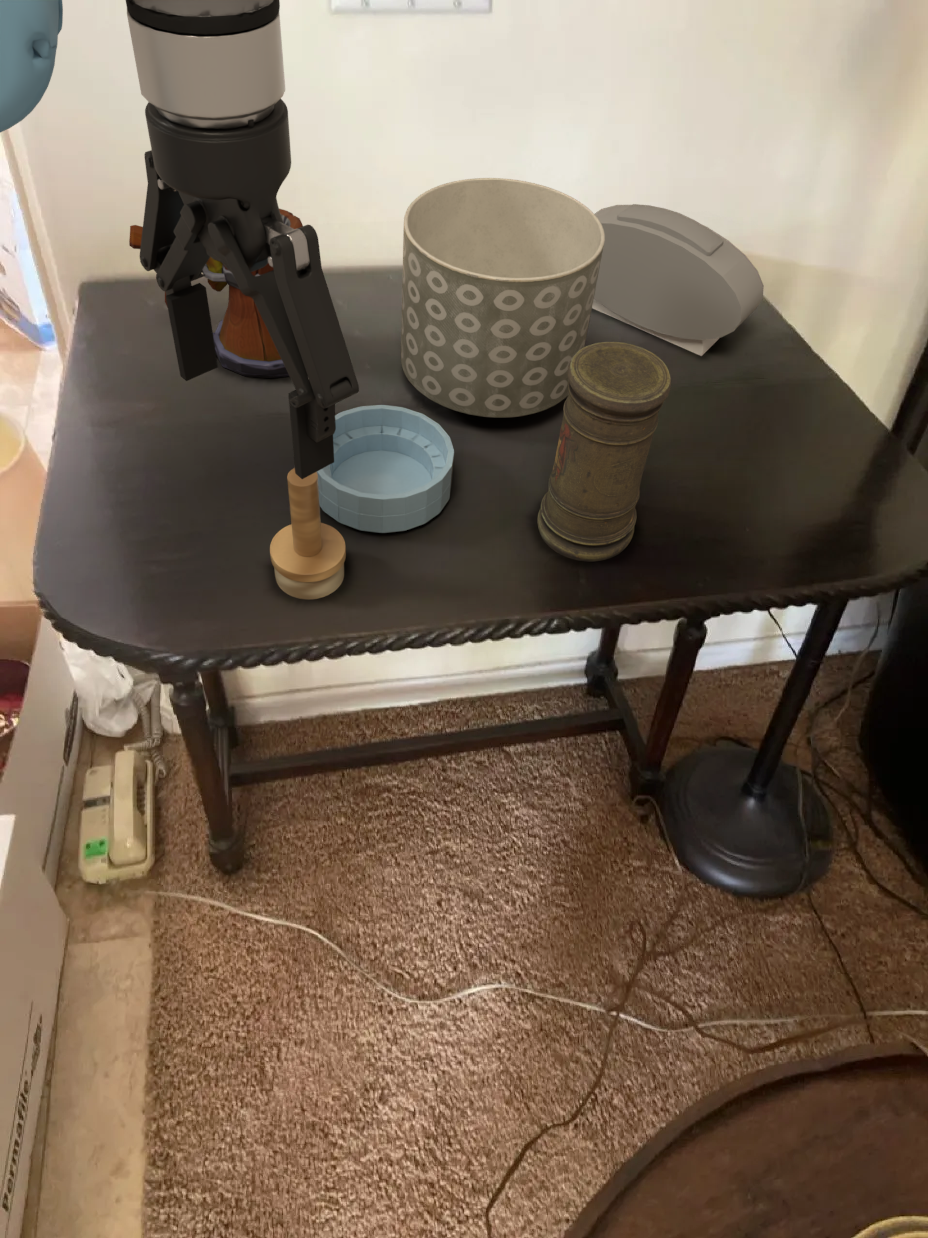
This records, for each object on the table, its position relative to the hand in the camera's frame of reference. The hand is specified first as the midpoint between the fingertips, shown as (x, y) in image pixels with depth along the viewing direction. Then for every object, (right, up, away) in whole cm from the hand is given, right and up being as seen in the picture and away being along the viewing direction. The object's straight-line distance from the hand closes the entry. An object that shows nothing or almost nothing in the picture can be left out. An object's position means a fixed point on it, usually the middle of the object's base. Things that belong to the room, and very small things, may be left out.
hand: (254, 418), depth 68 cm
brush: (+1, -10, +17) cm, 20 cm away
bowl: (+7, -2, +25) cm, 26 cm away
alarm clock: (+37, +21, +48) cm, 64 cm away
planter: (+17, +11, +37) cm, 42 cm away
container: (+26, -6, +24) cm, 36 cm away
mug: (-10, +15, +38) cm, 42 cm away
